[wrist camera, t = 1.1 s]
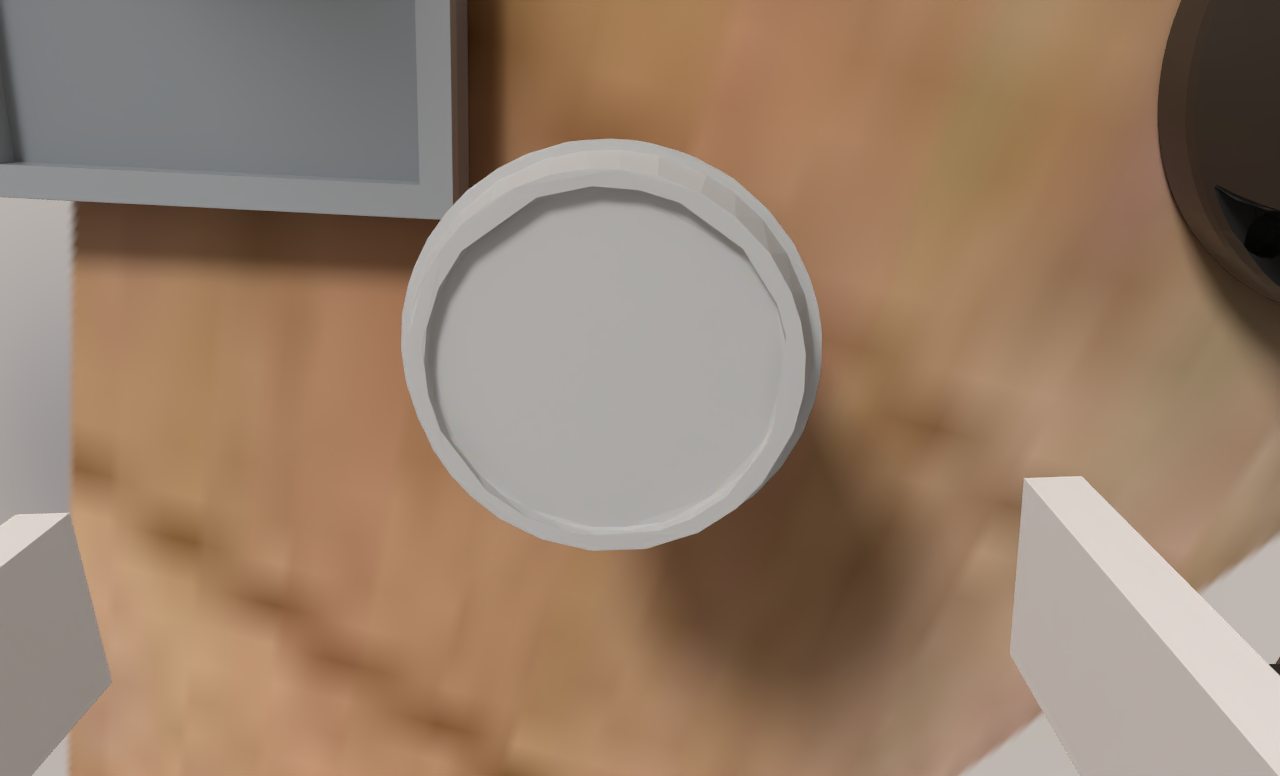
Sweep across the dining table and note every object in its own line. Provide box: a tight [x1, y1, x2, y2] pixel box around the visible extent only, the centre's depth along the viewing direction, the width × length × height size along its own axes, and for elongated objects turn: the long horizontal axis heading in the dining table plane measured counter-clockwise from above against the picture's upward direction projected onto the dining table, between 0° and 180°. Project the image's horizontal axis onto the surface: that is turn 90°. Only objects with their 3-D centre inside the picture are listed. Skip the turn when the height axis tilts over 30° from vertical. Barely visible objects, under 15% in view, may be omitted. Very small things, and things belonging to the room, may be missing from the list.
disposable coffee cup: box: [401, 139, 822, 551], centre depth 27 cm, size 10×10×12 cm
